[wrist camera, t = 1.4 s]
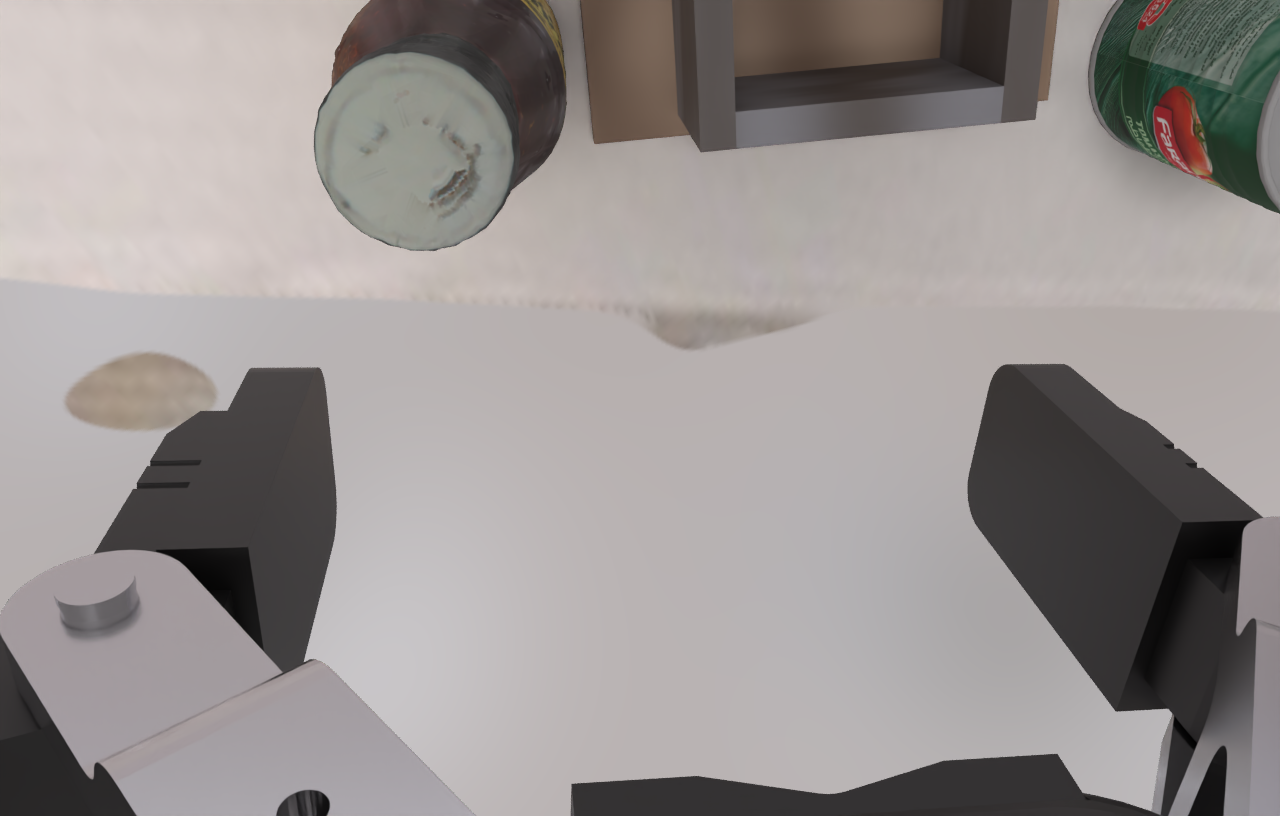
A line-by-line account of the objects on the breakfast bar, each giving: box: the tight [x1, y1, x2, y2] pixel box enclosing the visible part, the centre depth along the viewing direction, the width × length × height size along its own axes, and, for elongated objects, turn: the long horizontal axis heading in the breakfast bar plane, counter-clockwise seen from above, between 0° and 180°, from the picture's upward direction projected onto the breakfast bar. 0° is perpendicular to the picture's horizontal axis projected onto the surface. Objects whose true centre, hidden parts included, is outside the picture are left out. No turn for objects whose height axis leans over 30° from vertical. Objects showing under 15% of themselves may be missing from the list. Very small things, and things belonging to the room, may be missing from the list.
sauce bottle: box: [314, 0, 567, 251], centre depth 29 cm, size 7×6×20 cm
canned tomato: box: [1089, 0, 1280, 214], centre depth 36 cm, size 8×8×11 cm
